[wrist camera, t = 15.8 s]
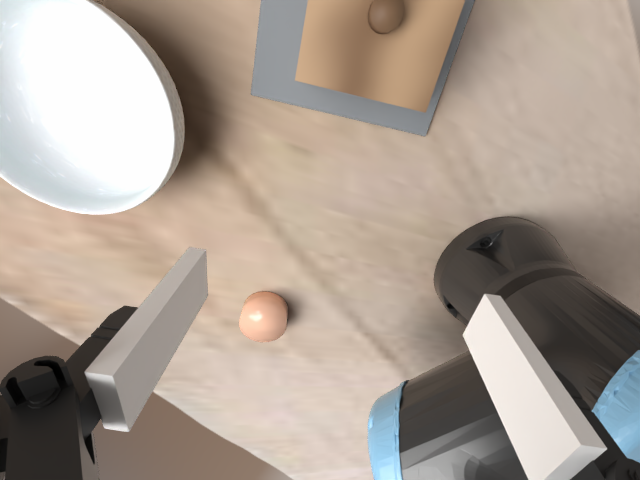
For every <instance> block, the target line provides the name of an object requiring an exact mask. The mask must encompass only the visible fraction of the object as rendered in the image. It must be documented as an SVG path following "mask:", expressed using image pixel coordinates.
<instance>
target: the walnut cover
mask: <svg viewBox="0 0 640 480" xmlns="http://www.w3.org/2000/svg"><path fill="white" fill-rule="evenodd" d="M464 2H465V0H308V3H307V9H306V15H305V21H304V27H303V33H302V40H301V46H300V52H299V58H298V64H297V70H296V76H295V81H299V82H303V83H307V84H311V85H315V86H319V87H323V88H327V89H331V90H335V91H339V92H343V93H348V94H352V95H356V96H360V97H364V98H368V99H372V100H376V101H380V102H384V103H388V104H392V105H396V106H400V107H404V108H408V109H412V110H416V111H421V112H425V113H426V111H427V108H428V105H429V102H430V99H431V96H432V94H433V91H434V88H435V85H436V82H437V79H438V76H439V74H440V71H441V68H442V65H443V62H444V59H445V56H446V54H447V51H448V48H449V45H450V42H451V39H452V36H453V33H454V31H455V28H456V25H457V22H458V19H459V16H460V13H461V11H462V8H463V5H464Z"/></svg>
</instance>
